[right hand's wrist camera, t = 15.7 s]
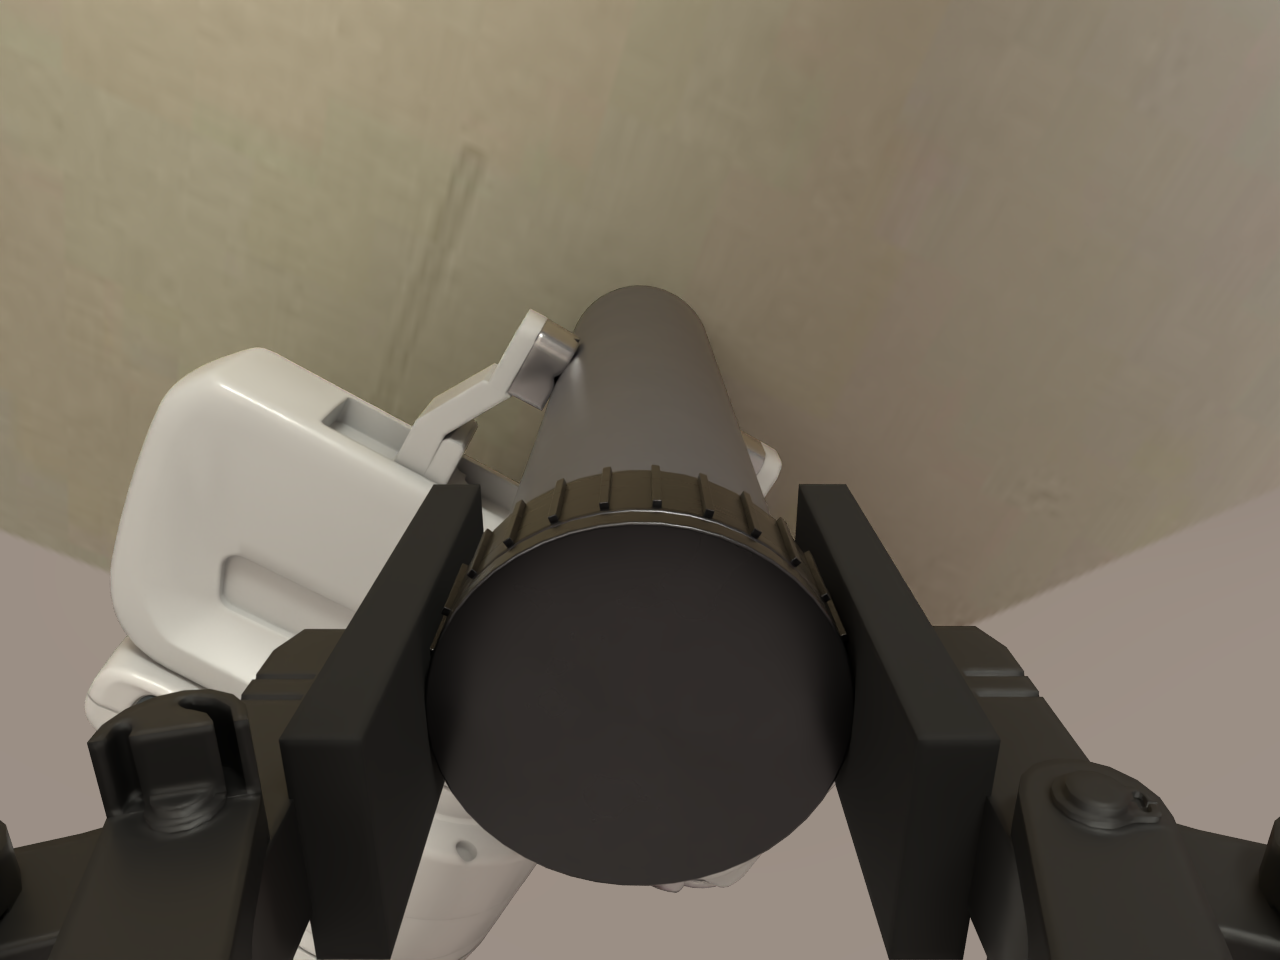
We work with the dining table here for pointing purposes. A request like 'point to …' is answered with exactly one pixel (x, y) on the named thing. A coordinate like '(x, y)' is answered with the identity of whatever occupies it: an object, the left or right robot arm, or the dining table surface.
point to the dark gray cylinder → (640, 400)
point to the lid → (639, 680)
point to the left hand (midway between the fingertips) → (656, 385)
